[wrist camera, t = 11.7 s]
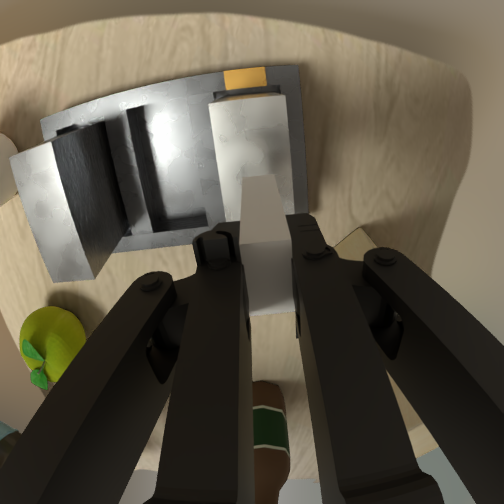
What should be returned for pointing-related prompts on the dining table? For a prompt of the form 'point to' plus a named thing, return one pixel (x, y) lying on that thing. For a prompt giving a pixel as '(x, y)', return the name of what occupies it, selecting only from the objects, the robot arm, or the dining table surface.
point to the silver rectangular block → (251, 145)
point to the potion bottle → (6, 170)
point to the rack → (139, 169)
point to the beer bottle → (269, 442)
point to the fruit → (50, 343)
